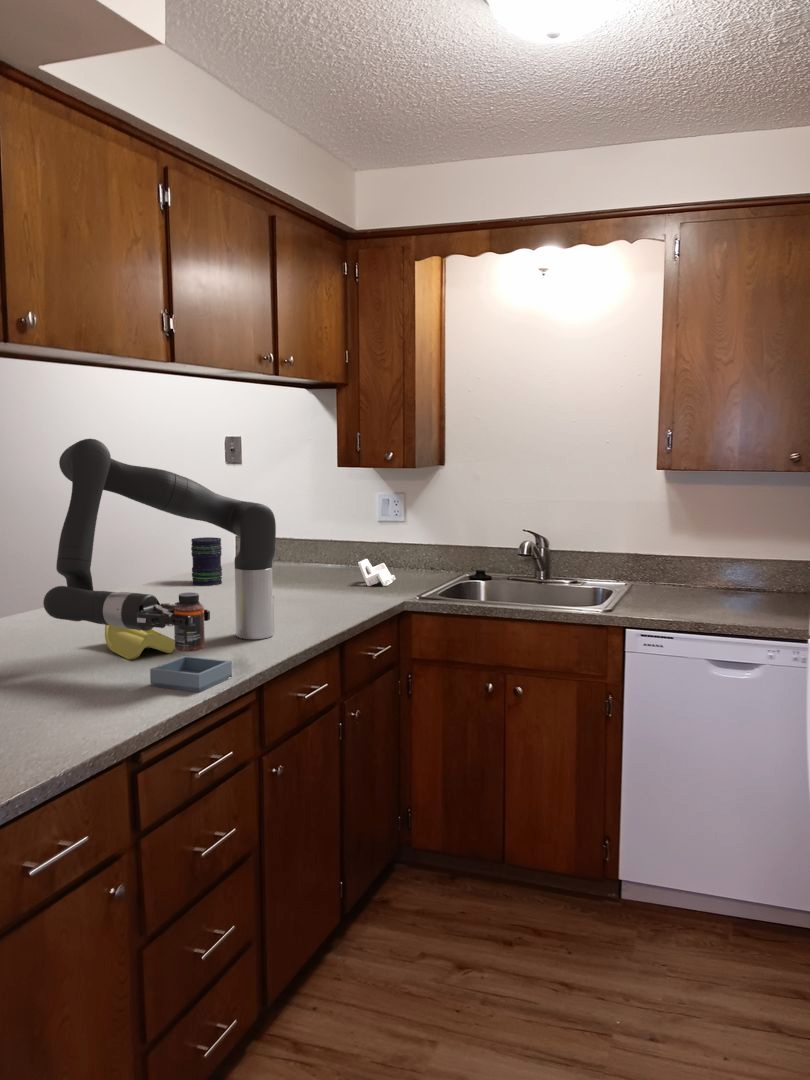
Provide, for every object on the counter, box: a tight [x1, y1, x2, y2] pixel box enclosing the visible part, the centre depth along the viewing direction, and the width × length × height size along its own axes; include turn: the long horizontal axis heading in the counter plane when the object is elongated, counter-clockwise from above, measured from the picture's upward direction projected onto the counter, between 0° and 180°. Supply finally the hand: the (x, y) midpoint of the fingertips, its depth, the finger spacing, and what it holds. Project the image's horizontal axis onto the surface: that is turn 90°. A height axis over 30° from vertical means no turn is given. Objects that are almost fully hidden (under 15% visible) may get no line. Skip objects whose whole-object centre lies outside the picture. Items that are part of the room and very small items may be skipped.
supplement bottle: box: [173, 591, 206, 652], centre depth 184 cm, size 6×6×11 cm
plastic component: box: [104, 625, 175, 660], centre depth 213 cm, size 20×7×10 cm
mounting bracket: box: [357, 558, 396, 587], centre depth 304 cm, size 12×6×11 cm, turn 166°
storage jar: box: [191, 536, 223, 587], centre depth 303 cm, size 10×10×15 cm
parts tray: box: [149, 655, 233, 693], centre depth 186 cm, size 12×12×4 cm
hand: (199, 618), depth 183 cm, fingers closed on supplement bottle, 6 cm apart
